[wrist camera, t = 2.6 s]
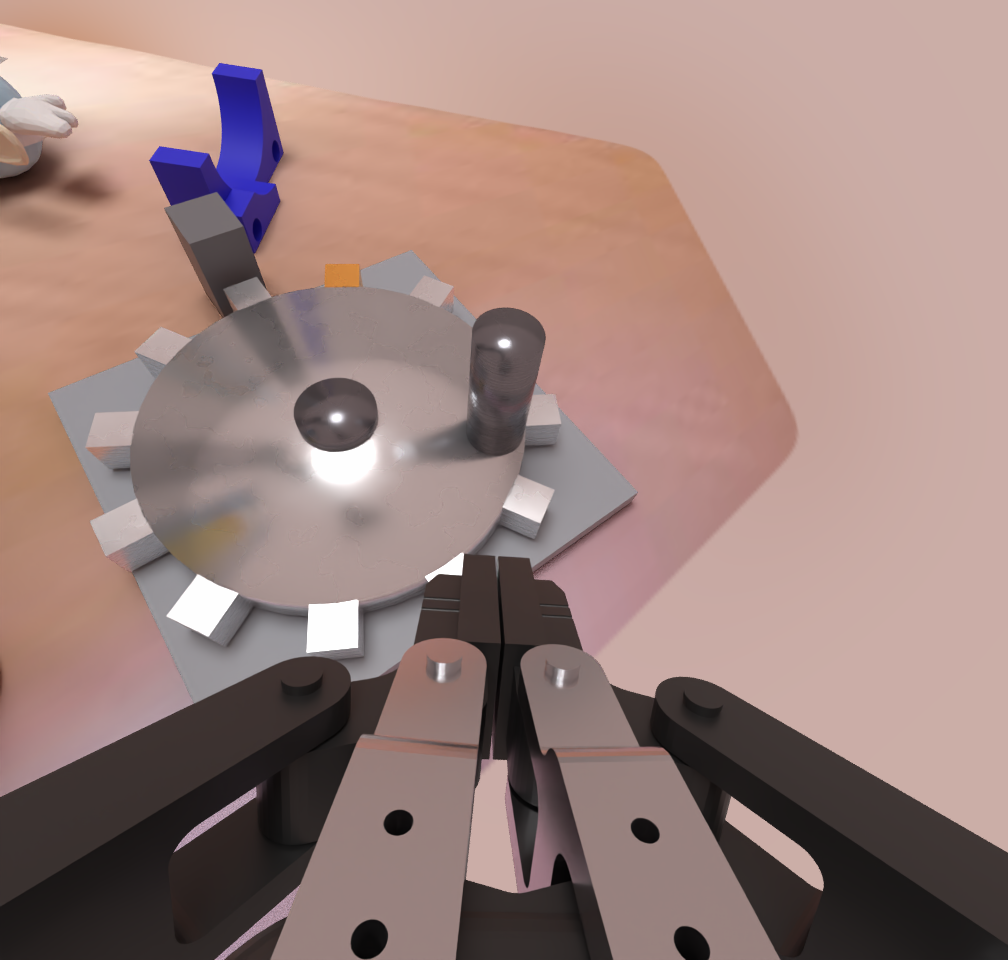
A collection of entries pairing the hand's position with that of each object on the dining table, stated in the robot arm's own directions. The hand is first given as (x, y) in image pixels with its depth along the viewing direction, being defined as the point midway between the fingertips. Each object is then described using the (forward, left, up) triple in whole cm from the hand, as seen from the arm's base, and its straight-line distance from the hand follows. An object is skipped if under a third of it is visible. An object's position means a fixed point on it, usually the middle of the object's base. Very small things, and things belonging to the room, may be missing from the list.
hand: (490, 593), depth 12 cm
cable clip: (-38, +7, -15) cm, 41 cm away
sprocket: (-14, +2, -13) cm, 19 cm away
